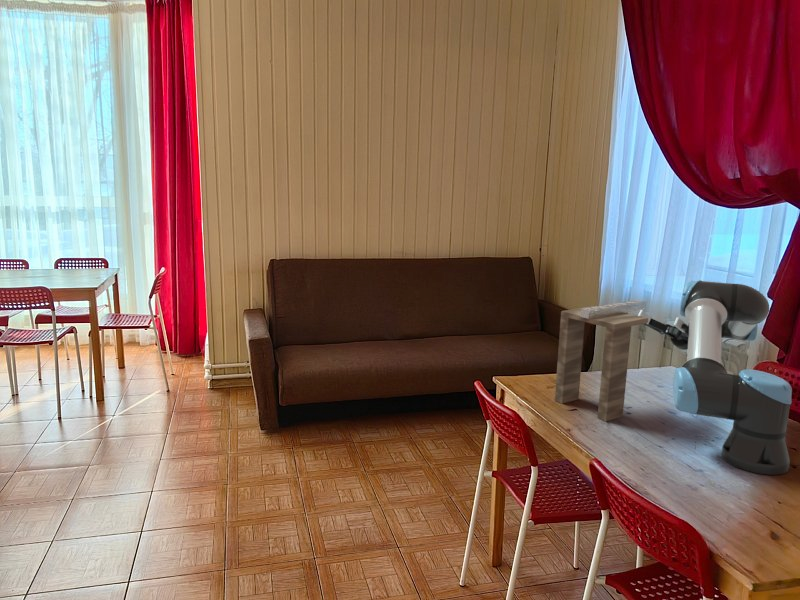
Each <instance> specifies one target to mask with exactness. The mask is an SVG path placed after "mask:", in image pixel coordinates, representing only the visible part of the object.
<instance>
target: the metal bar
mask: <svg viewBox="0 0 800 600" xmlns="http://www.w3.org/2000/svg"><path fill="white" fill-rule="evenodd" d="M595 306H596V305H595ZM588 307H589V308H585V307H582V308H583V309H581V317H584V318H588V319H590V318H596V317H602V316H608V315H614V314H620V313H630V312H636V311H640V310H643V311H644V310H646V309H647V301H645V300H640V299H636V300H629V301H624V302H617V303H611V304H604V305H597V306H596V307H592V306H588Z"/></svg>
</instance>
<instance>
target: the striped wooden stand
mask: <svg viewBox="0 0 800 600" xmlns="http://www.w3.org/2000/svg"><path fill="white" fill-rule="evenodd" d="M589 307H590V306H585V307H579V308H572V309H566V310H562V311H561V312H560V323H559V339H558V353H557V363H556V379H555V381H556V382H555V391H554V394H555V395H554V401H555V402H557V403H559V404H566V403H569V402H572V401H573V402H575V401H578V400H579V399H580V398H579V397H580V386H581V385H580V384H581V374H582V373H581V372H582V363H583V358H582V357H583V350H584V349H583V347H584V337H585V326H586V325H585V323H588V324H592V325H596V326H600V327H604V328H605V329H604V330H605V331H604V341H603V351H602V352H603V353H602V365H601V376H600V384H599V385H600V388H599V398H598V411H597V420H601V421H604V422H610V421H612V420H616V419H619V418H622V417H623V415H624V406H625V397H626V396H625V395H626V386H627V385H626V384H627V377H628V375H627V374H628V366H629V365H628V364H629V355H630V354H629V353H630V343H631V333H632V327H633V326H639V325H644V324H645V323H648V318H646V317H641V316H638V314H637V315H636V314H631V313H629V312H626V313H620V314H614V315H608V316H602V317H596V318H590V319H588V318H584V317H581V309H583V308H589ZM591 307H596V305H594V306H591Z"/></svg>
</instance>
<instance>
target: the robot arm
mask: <svg viewBox="0 0 800 600" xmlns="http://www.w3.org/2000/svg"><path fill="white" fill-rule="evenodd" d="M638 312H639V313H638V314H637V316H641V317H646V318H648V323H645V324H643V326H646V327H647V328H650V329H652V330H653V331H655V332H658V334H660V335H662V336H663V335H666V336H667V337H669V338H670V341H671V343H672V345H673V346H675V347H676V348H677V349H679V350H680V351H681V352H682V353H683V355H686V361H685V362H684V363H682V365H681V366H680V367H676V368H675V369H674V371H673V372H674V373H673V384H672V385H673V387H672V388H673V393H672V395H673V402H674V406H675V408H676V409H677V410H678V411H680V412H683V413H688V414H691V415H697V416H704V417H711V418H718V419H725V420H731V421H733V424H732V428H731V430H730V432H729V434H728V436H727V437H726V439H725V441H724V443H723V445H722V447H721V457H722V458H723V460H725V461H726V462H727V463H729V464H730V465H731V466H734V467H735V468H738V469H741V470H744V471H747V472H750V473H751V472H752V473H755V474H758V475H759V474H760V475H769V476H770V475H771V476H773V475H777V476H778V475H783V474H785V473H788V471H789V469H790V463H791V460H790V455H789V451H788V447H787V442H786V435H787V433H786V432H787V428H788V427H787V426H788V420H789V415H790V414H789V413H790V408H791V404H792V392H793V389H792V386H791V384H790V383H789V382H788V381H787V380H786V379H783V378H782V377H779V376H777V375H775V374H772V373H769V372H766V371H762V370H756V369H750V368H749V369H742V370H740V372H739V373H738V375H737V374H731V373H728V371H727V369H726V367H725V366H724V364H723V363H722V339H730V340H739V341H742V342H743V341H744V342H746V341H749V342H750V341H751V342H753V341H755V340H756V339H757V335H758V324H760V323H762V322H763V321H764V320H765V319H766V318H767V317H768V315H769V313H770V303H769V301H768V299H767V298H766V296H765V295H764V294H763V293H761V292H760V291H759V290H757V289H756V288H753V287H752V286H749V285H747V284H741V283H731V282H729V283H728V282H719V281H717V282H716V281H706V280H705V281H704V280H700V279H699V280H689V281H687V282H686V283H685V285H684V288H683V291H682V296H681V301H680V307H679V314H680V316H682V317H684V318H685V319H686V321H687V323H688V324H687V323H685V321H684V320H682V319H681V318H680V317H679V316H677V317H675V320H674V323H673V326H672V325H670V324H668V323H666V324H665V323H662V322H661V321H658V320H656V319H653V318H652V316H650V315H649V314H648V313H647V312H646V311H645V310H644V309H643V310H639V311H638Z"/></svg>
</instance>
